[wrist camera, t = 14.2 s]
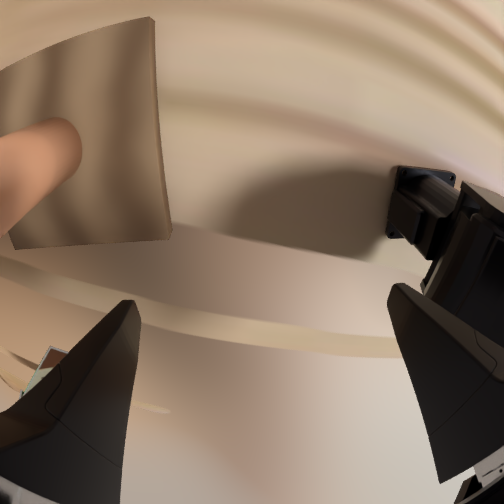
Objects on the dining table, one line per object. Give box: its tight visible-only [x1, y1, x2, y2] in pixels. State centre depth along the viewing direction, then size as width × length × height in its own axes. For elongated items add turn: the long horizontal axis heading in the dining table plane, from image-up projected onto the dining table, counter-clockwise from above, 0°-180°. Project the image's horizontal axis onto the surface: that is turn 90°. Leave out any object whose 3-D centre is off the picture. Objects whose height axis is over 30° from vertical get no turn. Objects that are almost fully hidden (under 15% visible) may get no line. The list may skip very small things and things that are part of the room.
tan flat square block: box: [0, 17, 172, 250], centre depth 17 cm, size 16×16×2 cm
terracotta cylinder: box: [0, 117, 82, 239], centre depth 12 cm, size 5×5×10 cm
